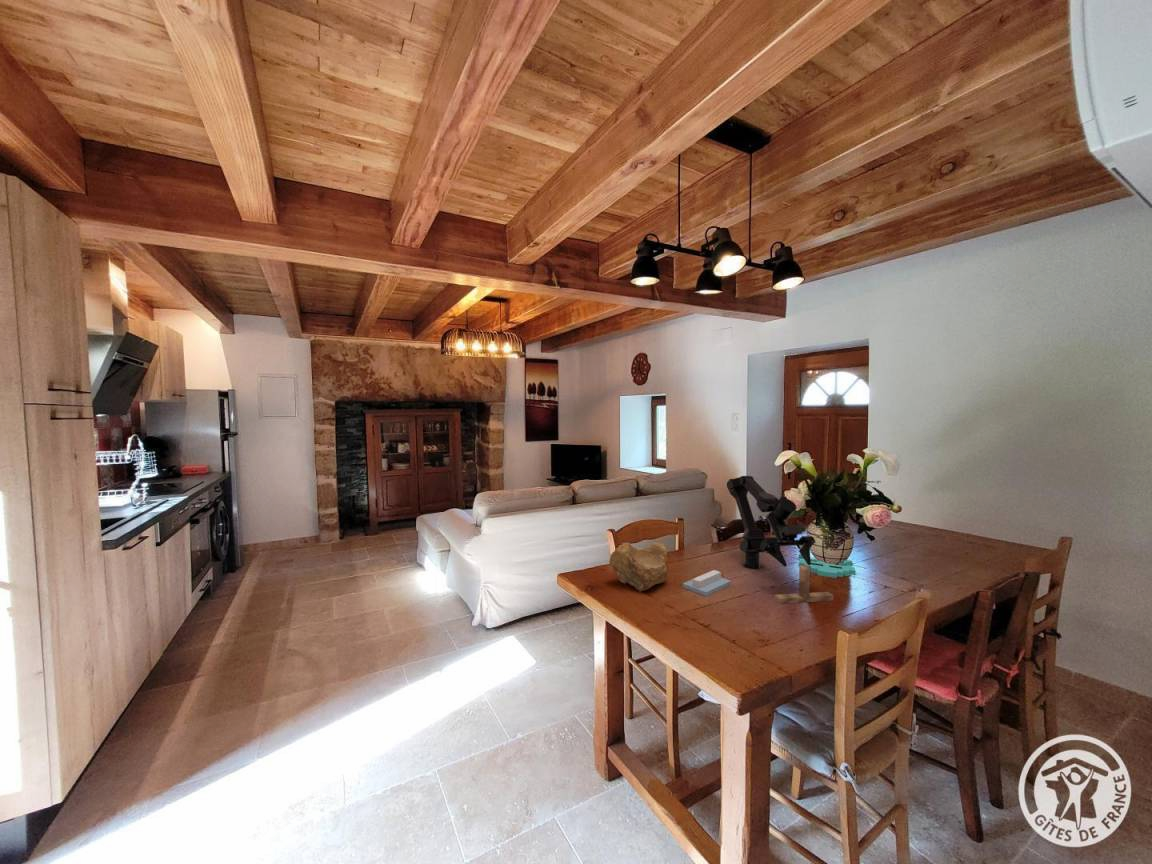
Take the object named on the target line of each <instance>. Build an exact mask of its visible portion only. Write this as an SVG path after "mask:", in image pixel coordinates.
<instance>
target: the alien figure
mask: <svg viewBox="0 0 1152 864" xmlns="http://www.w3.org/2000/svg"><path fill="white" fill-rule="evenodd" d="M810 559H811V565H808V564H807V563H806V561H805V560H804V558H803V557H802V555H801V554H800V553H798V566H799V565H806V566H809V567H810V573H815V574H817V576H822V577H829V578H833V579H834V578H835V579H838V577H841V578H843V577H844V576H845V577H846V576H847V577H850V575H852V576H856V568H855V567H854V566H853V560H850V559H846V560H843V561H844V562H843V563H839V564H838V565H835V564H828V563H825V562H826V561H825V562H822V561H823V560H818V559H817V558H815V557H814V558H813V557H810Z"/></svg>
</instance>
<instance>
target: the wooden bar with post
mask: <svg viewBox="0 0 1152 864" xmlns="http://www.w3.org/2000/svg"><path fill="white" fill-rule="evenodd" d="M798 569H799V570H798V593H785V594H773V595H774V597H773V600H774V601H775V602H776V603H778V604H779V605H784V604H799V603H815V602H817V603H818V602H827V601H828V602H829V601H833V602H834V594H832V593H831V592H829V591H820V592H819V591H817V592H810V575H811V574H810V573H811V570H810V567H809V566H806V565H799V564H798Z"/></svg>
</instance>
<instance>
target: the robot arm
mask: <svg viewBox="0 0 1152 864" xmlns="http://www.w3.org/2000/svg"><path fill="white" fill-rule="evenodd" d="M726 488H727V490H728V492H729V494H730V496H732V497H733V498H734V499H735V502H736V505H737V509H738V512H739V515H740V516H739V517H740V518H741V522H742V525H743V528H744V531H743V533H742V534H743V535H742V541H741V542H740V543H739V550H740V551H742V553H744V561H743V565H742V566H743V567H744V568H750V569H757V570H759V569H761V562H760V553H765V554H769V555H770V556H772V557H773V558H774V559H775V560H777V562H779V563H780V564H781V565H782V566H783V567H784V568H785V567H787V565H788V564H787V562H786V560H785V557H784V555H783V552H782V551H781V547H790V546H791V547H793V546H795V547H797V548H798V549H799V550H798V552H799V554H801V555H802V557H803V558H804V559H803V560H805V561H806V563H807V564H808V565H811V559H810V558H811V548H812V547H813V546H814V544H816V540H815V537H814V536H812V535H803V533H805V532H806V525H804V523H803V522H798V523H795V524H788V523H787V520H788V519H790V518H791V516H792V515H793V514H794V512H796V510H797V505H796V503H795V502H793V501H792V500H791V499H789V498H787V496H781V497H780V498H778V497H777V496H775V495H774V494H771V493H769V492H766V491H765V490H764V488H763V487H762V486H761V485H759V483H758V482H757V481H756V480H755V479H754V477H753V476H752V475H741V476H739V477H735V478H729V479H728V481H727V482H726ZM748 493H749V494H750V495H751V496H752V497H753V498H754V499H755V500H756V506H757V508H758V509H759V511H760V512H761V513H768V514H766V516H765V519H764V522H765V523H768V524H769V526H770V528H771V530H772V532H771V535H772V537H771V536H770V537H766V536H765V532H764V531H763V529H759V528H758V526H757V525H756V521H755V518H754V514H753V511H752V509H751V505H750V502H749V499H748ZM798 535H802V536H801V537H800V538H799V539H797V538H798V537H799V536H798Z"/></svg>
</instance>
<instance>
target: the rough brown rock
mask: <svg viewBox="0 0 1152 864" xmlns="http://www.w3.org/2000/svg"><path fill="white" fill-rule="evenodd" d="M667 553H668V551H667V547H666V545H665V544H664V543H662V542H653V543H652V544H651V545H649V546H648V547H645V548H640V547H639V548H638V547H634V546H633V545H632V544H631V543H630V542H623V543H621V545H620V546H617V547H616V548H615V549H614V551H612V553H611V554H610V557H609V569H610V570H611V571H612V572H614V573H616V574H617V577H618V580H619V581H620V582H621V583H623V584H629V586H633V587H634V588H635V589H636V590H637V591H639V592H644V591H647V590H649V589H650V588H651V587H653V586H655V585H658V584H662V583H664V582H665V581H666V579H667V575H668V572H669V565H668V554H667Z"/></svg>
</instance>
